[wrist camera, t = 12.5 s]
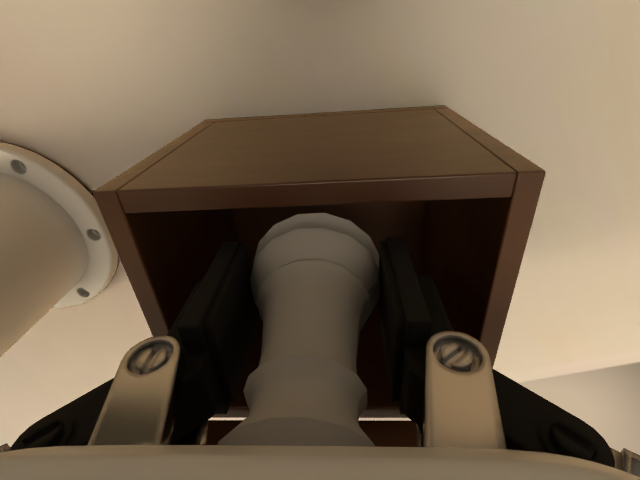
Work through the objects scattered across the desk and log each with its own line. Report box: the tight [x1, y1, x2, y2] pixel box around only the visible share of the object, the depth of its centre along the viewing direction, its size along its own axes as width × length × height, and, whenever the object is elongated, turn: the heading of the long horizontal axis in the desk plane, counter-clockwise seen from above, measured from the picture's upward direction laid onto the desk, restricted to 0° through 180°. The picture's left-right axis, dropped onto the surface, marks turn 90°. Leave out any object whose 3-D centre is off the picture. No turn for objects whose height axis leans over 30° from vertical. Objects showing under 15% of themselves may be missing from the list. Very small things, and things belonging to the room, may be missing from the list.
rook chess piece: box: [218, 213, 380, 447], centre depth 9 cm, size 4×4×8 cm
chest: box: [93, 106, 545, 418], centre depth 18 cm, size 12×14×11 cm
